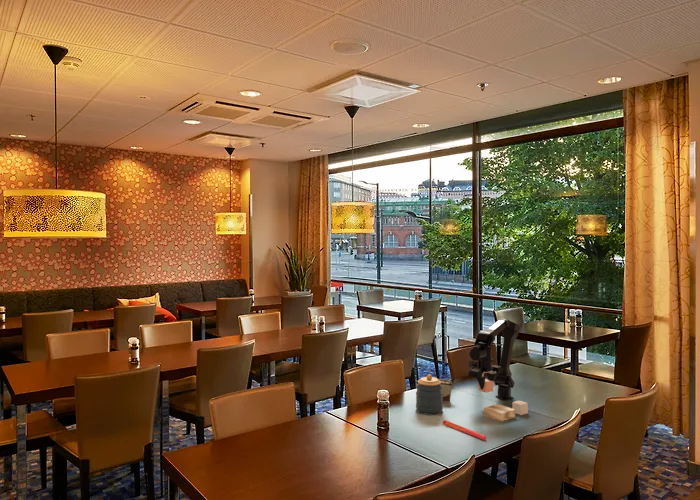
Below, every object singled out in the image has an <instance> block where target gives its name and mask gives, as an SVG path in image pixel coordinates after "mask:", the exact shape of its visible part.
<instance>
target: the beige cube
mask: <svg viewBox="0 0 700 500" xmlns="http://www.w3.org/2000/svg"><path fill="white" fill-rule="evenodd" d="M511 405H512V406H511V408H512V409H515V415H519V416H523V415H526V414H529V403H528V402H526V401H522V400H520V399H519V400H515V401H513V402H512V403H511Z"/></svg>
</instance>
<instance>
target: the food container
mask: <svg viewBox="0 0 700 500" xmlns="http://www.w3.org/2000/svg"><path fill="white" fill-rule="evenodd" d="M437 379H438V380H440V381H441V385H442V386H443V388H442V393H443V403H444V402H448V403H449V402H451V395H452V387H453V386H454V385H453V382H452V381H451V380H450V379H445V378H444V379H443V378H437Z"/></svg>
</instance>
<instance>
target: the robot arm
mask: <svg viewBox="0 0 700 500" xmlns="http://www.w3.org/2000/svg"><path fill="white" fill-rule="evenodd" d="M520 331H521V329H520V326H519V324H518V323H515V322H514V321H511V320H510V319H508V318H502V317H501V318H498V319H497V321H496V322H495V323H493V324H492V325H491V326H490V327H489V328H486V329H482V330H480V331H479V332H478V333H477V336H476V338H475V341H474V344H473V347H472V349H471V350H470V351H469V357H470V359H471V360H469V361H468V366H469V368H471V369H469V370H468V376H470V377H473V378H476V379H477V382H479V385H480V388H481V389H482V390H483V388H484V383H485V379H488V380H491V381H493V383H494V385H495V386H497V395H495V397H496V398H498V399H499V400H500V399H501V400H504V401H506V400H510V399H514V396H512V389H513V388H514V387H515V381H514V379H513V378H512V371H511V369H510V365H511V360H512V353H513V348H514V341H515V340H516V339H517V338H518V336H519V334H520ZM500 333H501V335H502V337H503V344H502V351H501V355H500V362H499V365H497V364H494V365H493V363H494V359H493V355H492V354H493V352H492V349H493V348H494V345H493V343H494V342H495V341H496V336H498V335H499V334H500ZM485 374H486V376H487V378H486V376H484V375H485Z"/></svg>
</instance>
